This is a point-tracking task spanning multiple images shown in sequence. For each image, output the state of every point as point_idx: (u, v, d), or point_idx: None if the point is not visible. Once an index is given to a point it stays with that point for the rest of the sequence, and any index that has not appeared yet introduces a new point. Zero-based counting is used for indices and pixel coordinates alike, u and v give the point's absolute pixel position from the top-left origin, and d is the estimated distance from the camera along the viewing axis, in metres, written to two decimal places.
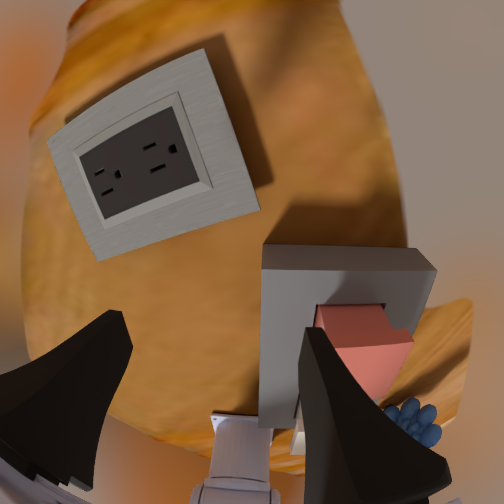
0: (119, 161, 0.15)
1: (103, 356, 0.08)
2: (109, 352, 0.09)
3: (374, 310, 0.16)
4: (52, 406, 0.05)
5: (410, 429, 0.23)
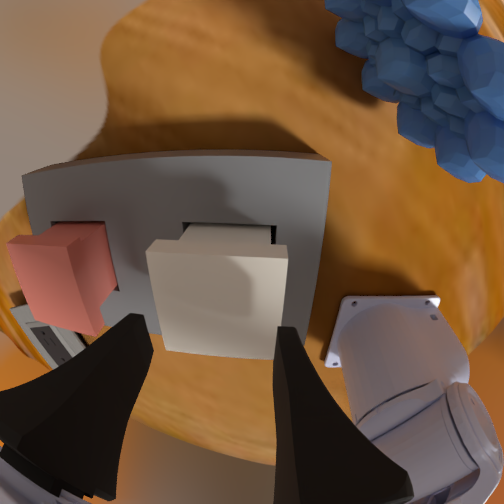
0: (57, 356, 0.24)
1: (126, 361, 0.08)
2: (132, 357, 0.09)
3: None
4: (77, 417, 0.05)
5: (372, 36, 0.08)
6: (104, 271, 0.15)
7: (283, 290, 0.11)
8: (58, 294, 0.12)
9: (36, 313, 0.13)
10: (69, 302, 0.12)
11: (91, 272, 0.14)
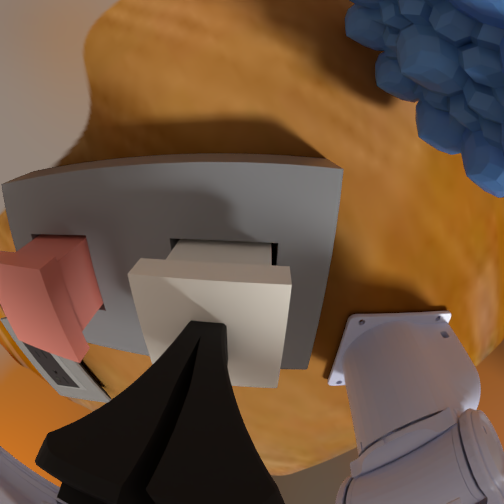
0: (49, 368, 0.22)
1: None
2: None
3: None
4: (162, 444, 0.05)
5: (391, 23, 0.06)
6: (88, 291, 0.13)
7: (285, 319, 0.09)
8: (37, 317, 0.10)
9: (18, 333, 0.11)
10: (49, 327, 0.10)
11: (72, 292, 0.12)
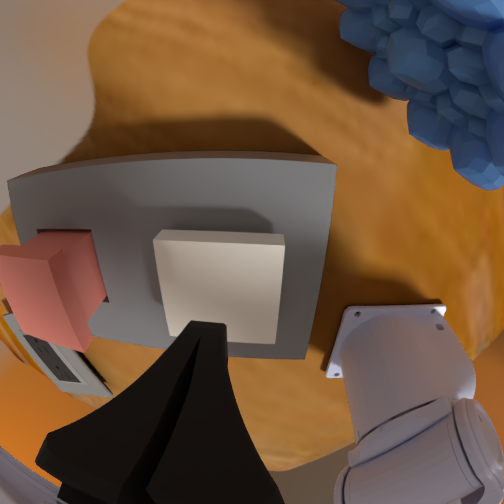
0: (51, 364, 0.23)
1: None
2: None
3: None
4: (162, 444, 0.05)
5: (382, 26, 0.07)
6: (92, 283, 0.14)
7: (280, 275, 0.12)
8: (43, 308, 0.11)
9: (23, 326, 0.12)
10: (54, 317, 0.11)
11: (78, 284, 0.12)
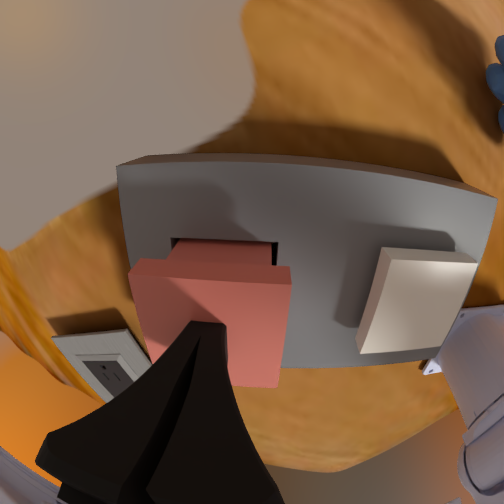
0: (119, 391, 0.22)
1: None
2: None
3: None
4: (162, 444, 0.05)
5: None
6: None
7: (468, 287, 0.11)
8: (235, 346, 0.10)
9: None
10: (254, 355, 0.10)
11: None
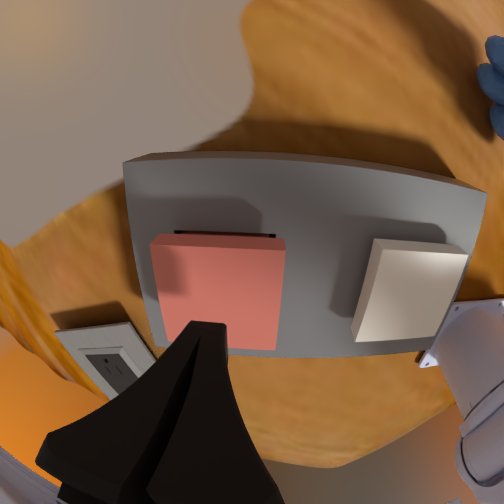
0: (121, 385, 0.23)
1: None
2: None
3: None
4: (162, 444, 0.05)
5: None
6: None
7: (459, 278, 0.12)
8: (239, 307, 0.12)
9: (175, 333, 0.13)
10: (255, 316, 0.12)
11: None
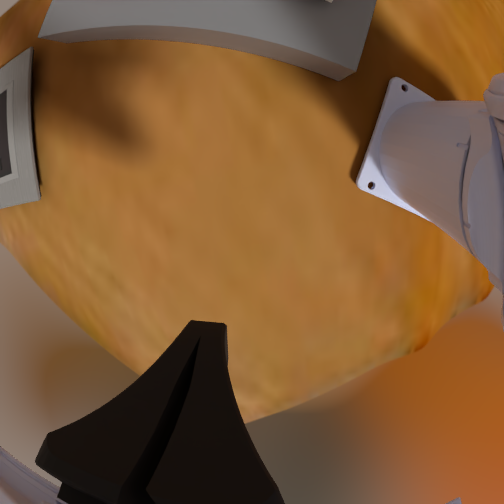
0: None
1: None
2: None
3: None
4: (162, 444, 0.05)
5: None
6: None
7: None
8: None
9: None
10: None
11: None
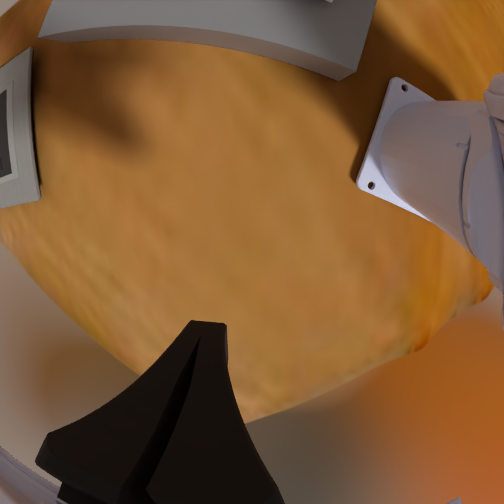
0: None
1: None
2: None
3: None
4: (162, 444, 0.05)
5: None
6: None
7: None
8: None
9: None
10: None
11: None
